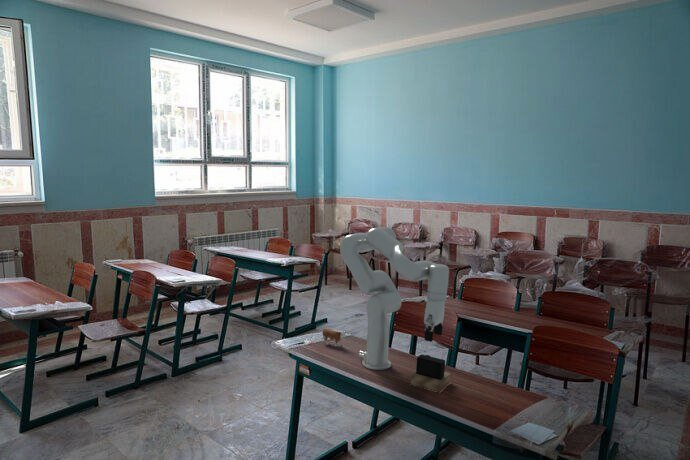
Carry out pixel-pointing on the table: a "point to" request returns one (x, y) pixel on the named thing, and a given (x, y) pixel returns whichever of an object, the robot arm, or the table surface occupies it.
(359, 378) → the table surface
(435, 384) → the plinth
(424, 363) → the digital camera
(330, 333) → the bull figurine
